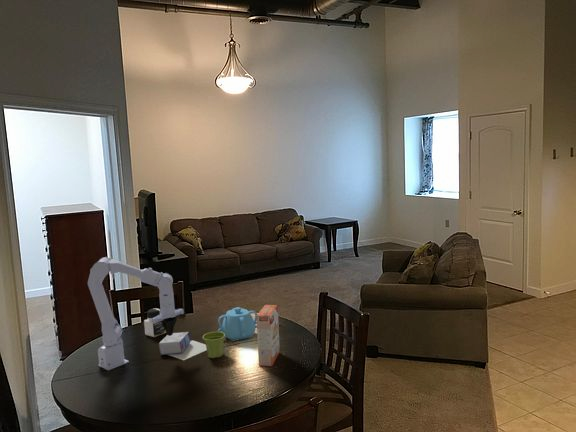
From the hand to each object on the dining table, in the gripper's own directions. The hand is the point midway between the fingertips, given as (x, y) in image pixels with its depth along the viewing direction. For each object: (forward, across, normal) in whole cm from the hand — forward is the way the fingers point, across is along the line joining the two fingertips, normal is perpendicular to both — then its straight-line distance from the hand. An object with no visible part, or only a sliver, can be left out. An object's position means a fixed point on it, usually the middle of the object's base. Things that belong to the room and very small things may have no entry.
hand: (169, 334), depth 199 cm
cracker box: (+10, +22, -36) cm, 43 cm away
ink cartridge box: (+7, +1, +2) cm, 7 cm away
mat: (+10, +9, 0) cm, 13 cm away
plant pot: (+10, +12, -14) cm, 21 cm away
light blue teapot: (+10, +33, -7) cm, 35 cm away
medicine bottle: (+10, +13, +30) cm, 34 cm away
